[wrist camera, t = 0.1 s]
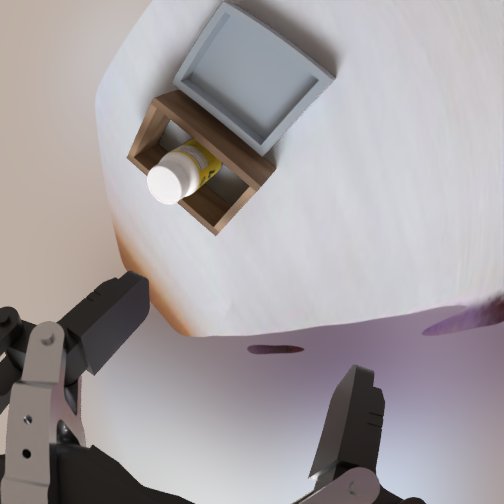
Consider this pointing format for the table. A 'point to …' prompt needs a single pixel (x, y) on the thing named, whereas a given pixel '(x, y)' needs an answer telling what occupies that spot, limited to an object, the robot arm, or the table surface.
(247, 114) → the tray
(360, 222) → the table surface
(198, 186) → the supplement bottle
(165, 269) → the table surface
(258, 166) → the caddy
